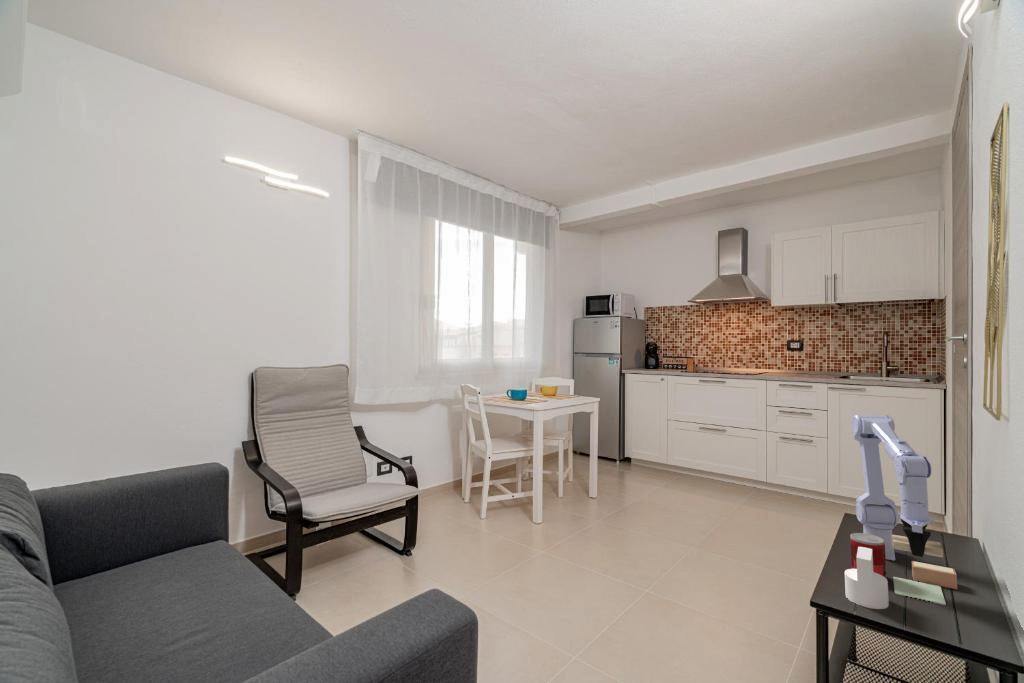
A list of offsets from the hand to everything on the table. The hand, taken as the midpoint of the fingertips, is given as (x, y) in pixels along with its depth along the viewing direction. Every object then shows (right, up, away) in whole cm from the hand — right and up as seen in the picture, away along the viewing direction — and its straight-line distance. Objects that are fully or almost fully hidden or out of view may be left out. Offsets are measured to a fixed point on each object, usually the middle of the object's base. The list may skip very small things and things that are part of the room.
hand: (916, 551), depth 126 cm
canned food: (-6, -11, +8) cm, 15 cm away
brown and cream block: (+9, -10, +4) cm, 14 cm away
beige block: (0, +1, 0) cm, 1 cm away
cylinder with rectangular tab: (-17, -11, -4) cm, 20 cm away
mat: (0, -10, 0) cm, 11 cm away
